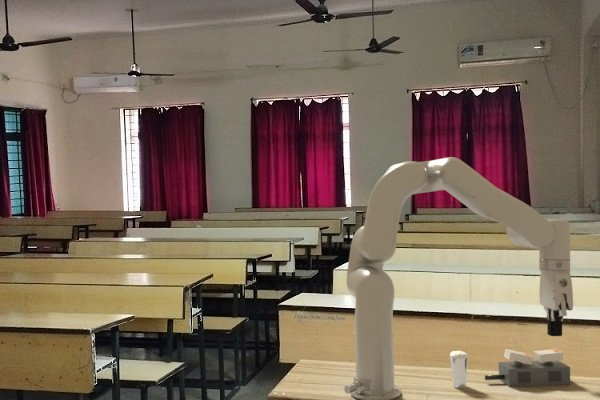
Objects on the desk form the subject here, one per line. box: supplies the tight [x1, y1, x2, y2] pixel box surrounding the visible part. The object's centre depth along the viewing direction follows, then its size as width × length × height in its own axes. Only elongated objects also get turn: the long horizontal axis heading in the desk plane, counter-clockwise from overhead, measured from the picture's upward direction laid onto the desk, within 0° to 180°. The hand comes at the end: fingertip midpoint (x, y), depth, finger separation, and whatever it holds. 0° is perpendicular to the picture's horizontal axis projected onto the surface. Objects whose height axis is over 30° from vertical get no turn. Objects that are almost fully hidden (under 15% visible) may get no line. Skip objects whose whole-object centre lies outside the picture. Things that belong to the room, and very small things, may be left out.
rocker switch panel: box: [484, 360, 571, 388], centre depth 157 cm, size 21×7×5 cm, turn 92°
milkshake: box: [449, 347, 472, 389], centre depth 155 cm, size 4×5×10 cm
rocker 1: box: [503, 348, 534, 364], centre depth 157 cm, size 6×4×2 cm, turn 92°
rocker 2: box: [533, 348, 564, 362], centre depth 158 cm, size 6×4×2 cm, turn 92°
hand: (554, 335), depth 158 cm, fingers closed
